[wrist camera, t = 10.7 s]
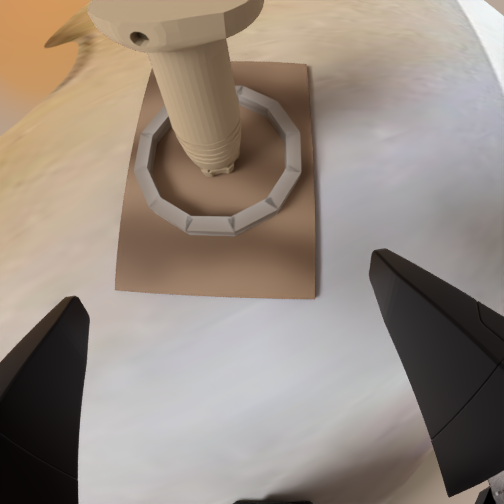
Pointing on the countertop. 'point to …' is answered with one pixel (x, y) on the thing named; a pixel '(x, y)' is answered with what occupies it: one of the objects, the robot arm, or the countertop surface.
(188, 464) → the countertop surface
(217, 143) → the handle
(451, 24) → the countertop surface
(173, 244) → the socket board
